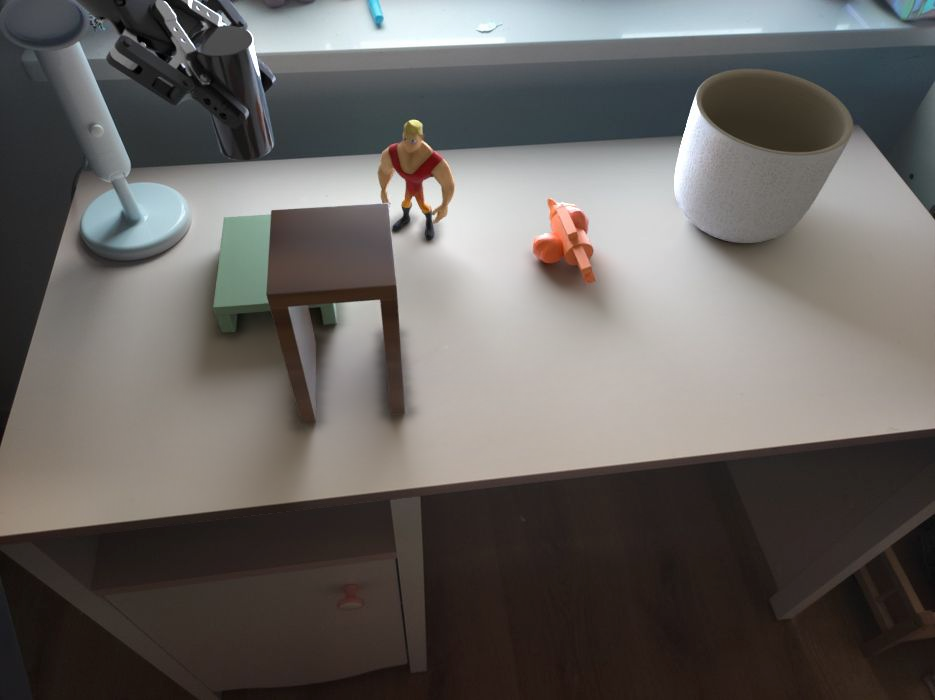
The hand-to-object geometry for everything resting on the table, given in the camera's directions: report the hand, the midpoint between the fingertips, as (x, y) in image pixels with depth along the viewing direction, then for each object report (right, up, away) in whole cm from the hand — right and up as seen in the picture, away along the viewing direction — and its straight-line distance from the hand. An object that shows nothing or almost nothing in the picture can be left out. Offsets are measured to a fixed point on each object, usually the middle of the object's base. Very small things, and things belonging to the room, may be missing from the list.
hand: (255, 103), depth 62 cm
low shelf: (-2, -14, +18) cm, 23 cm away
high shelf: (+7, -24, +10) cm, 27 cm away
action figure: (+12, -7, +24) cm, 28 cm away
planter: (+52, -5, +28) cm, 59 cm away
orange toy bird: (+30, -11, +22) cm, 38 cm away
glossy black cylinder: (-2, -2, +4) cm, 5 cm away
